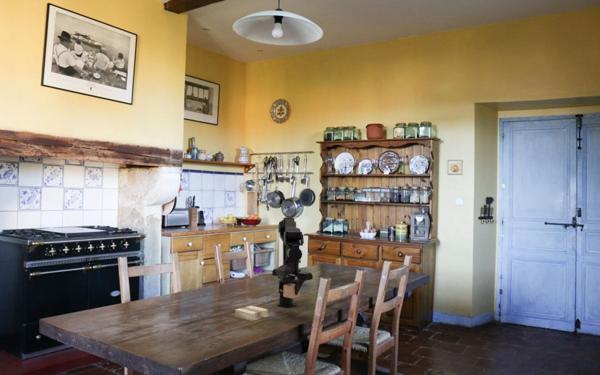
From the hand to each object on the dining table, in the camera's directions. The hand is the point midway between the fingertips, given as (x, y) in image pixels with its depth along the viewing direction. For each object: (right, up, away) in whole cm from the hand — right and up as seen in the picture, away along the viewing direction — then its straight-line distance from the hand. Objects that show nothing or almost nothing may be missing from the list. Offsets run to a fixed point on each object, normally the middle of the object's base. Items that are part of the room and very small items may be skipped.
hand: (291, 294), depth 209 cm
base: (-17, -9, -3) cm, 19 cm away
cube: (0, -1, 0) cm, 1 cm away
